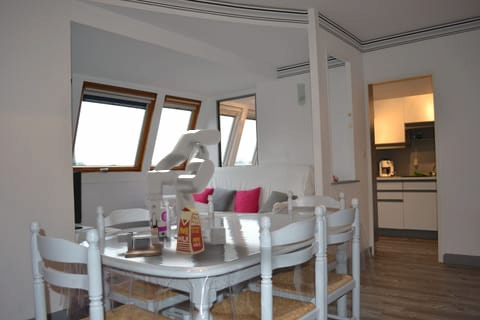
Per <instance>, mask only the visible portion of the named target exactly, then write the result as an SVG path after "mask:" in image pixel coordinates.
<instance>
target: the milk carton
mask: <svg viewBox="0 0 480 320" xmlns="http://www.w3.org/2000/svg"><path fill="white" fill-rule="evenodd" d="M202 229H203V227H202V221H201V217H200V212H199V211H198V210H197V208H196V205H195V206H189V205H187V204H185V208H184V209H183V210H182V212H181V218H180V223H179V230H178V236H177V239H176V245H175V253H177V254H184V255H191V256H193V255H197V254H199V253H201V252H204V251H205V241H204V235H203V234H204V233H202Z"/></svg>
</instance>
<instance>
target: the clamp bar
mask: <svg viewBox="0 0 480 320" xmlns="http://www.w3.org/2000/svg"><path fill="white" fill-rule="evenodd" d="M156 237H157V234H156V235H151V234H143V235H133V236H132V239H133V240H135V239H140V238H150V239H152V238H156ZM117 243H119V244H120V243H122V244H123V243H127V233H118V234H117Z"/></svg>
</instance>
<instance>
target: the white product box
mask: <svg viewBox="0 0 480 320" xmlns="http://www.w3.org/2000/svg"><path fill="white" fill-rule="evenodd" d="M167 216H168V213H167V209H166V206H161V222H159V221H158V228H159V237H158V239H159V238H165V237H167V235H168V219H167V218H168V217H167ZM151 229H152V222H150V230H151Z"/></svg>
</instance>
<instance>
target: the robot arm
mask: <svg viewBox="0 0 480 320" xmlns="http://www.w3.org/2000/svg"><path fill="white" fill-rule="evenodd" d="M221 140H222V133H221V132H220V130H218V129H217V128H208V129H195V130H188V131H185V132H183V133H182V134H181V136H180V138H179V139H178V141H177V142H176V144H175V146H174V148H173V149H172V150H171V152H168V153H167V155H165V156H164V157H162V159H161V160H160V161H158V163H156V165H155V167H154V169H153V170H149V171H147V172H146V173H145V196H146V198H145V199H146V200H145V201H146V202H148V214H149V216H148V217H149V222H150V223H151V222H152V228H158V221H159V222H161V207H162V201H163V200H164V197H163V196H164V194H163V186H164V187H171V186H173V190H174V195H175V209H176V211H175V213H176V218H175V219H176V234H174V235H173V238H174V239H176V240H177V236H178V230H179V223H180V218H181V212H182V210H183V209H184V208H185V204H187V205H189V206H195V207H196V201H195V197H194V196H193V195H200V194H202V193H203V192H204V191H205V190H206V189H207V187H208V186H209V183H210V181H211V180H212V179H213V176H214V173H215V164H214V162H213V160H211V159H210V152H209V150H208V148H207V147H209V146H214V145H218V144H219V143H220V142H221ZM193 149H194V152H193V154H192V156H191V157H190V159H189V161H188V163H187V164H186V166H185V171H184V172H185V174H181V175H178V173H177V172H176V171H174V170H172V169H173V168H174V167H177V166H179V165H181V164H183V163H185V162H187V160H188V158H189V156H190V155H191V153H192V151H193ZM205 230H206V229H205V228H202V233H203V234H205V232H206V231H205ZM158 237H159V228H158ZM159 238H160V237H159Z"/></svg>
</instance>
